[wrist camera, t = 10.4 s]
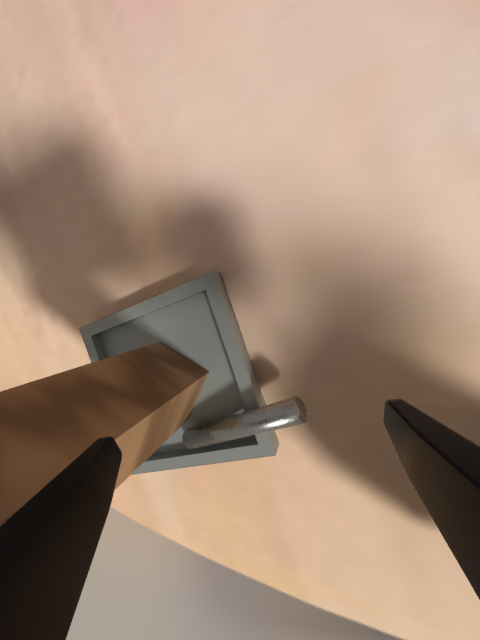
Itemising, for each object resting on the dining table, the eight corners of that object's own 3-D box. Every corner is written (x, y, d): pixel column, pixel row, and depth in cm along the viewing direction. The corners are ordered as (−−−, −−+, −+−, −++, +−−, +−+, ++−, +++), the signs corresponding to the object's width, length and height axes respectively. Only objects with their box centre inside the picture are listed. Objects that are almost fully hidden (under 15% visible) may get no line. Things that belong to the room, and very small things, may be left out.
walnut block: (209, 371, 20) (-10, 529, 7) (186, 420, 21) (-37, 634, 8) (160, 341, 21) (-109, 426, 8) (141, 389, 22) (-120, 532, 9)
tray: (278, 443, 20) (275, 455, 18) (141, 464, 24) (130, 474, 23) (220, 272, 20) (212, 271, 18) (93, 326, 24) (79, 328, 23)
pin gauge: (303, 400, 17) (291, 393, 16) (308, 425, 16) (296, 420, 15) (197, 429, 21) (183, 426, 20) (196, 450, 20) (181, 448, 19)
